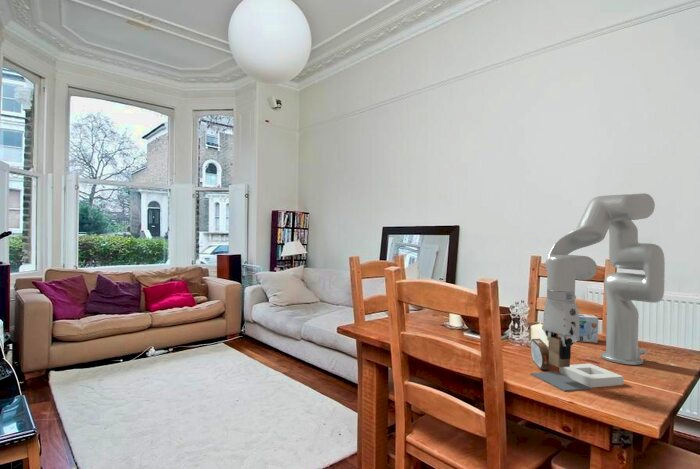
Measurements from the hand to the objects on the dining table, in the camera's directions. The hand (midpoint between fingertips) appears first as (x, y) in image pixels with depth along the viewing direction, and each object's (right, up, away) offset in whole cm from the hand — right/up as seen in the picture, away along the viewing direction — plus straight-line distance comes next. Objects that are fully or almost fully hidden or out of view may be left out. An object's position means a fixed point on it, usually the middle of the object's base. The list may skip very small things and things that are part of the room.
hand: (559, 355), depth 119 cm
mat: (0, -8, 0) cm, 8 cm away
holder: (+11, -8, +3) cm, 14 cm away
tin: (+1, -8, +15) cm, 17 cm away
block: (0, -3, 0) cm, 3 cm away
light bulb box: (+37, -9, +50) cm, 63 cm away
